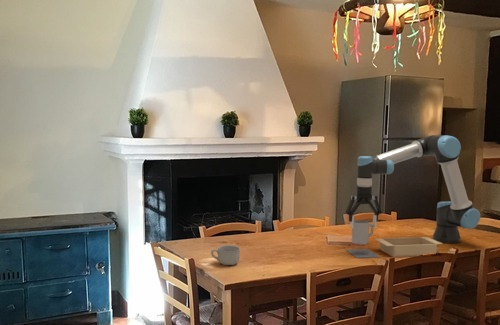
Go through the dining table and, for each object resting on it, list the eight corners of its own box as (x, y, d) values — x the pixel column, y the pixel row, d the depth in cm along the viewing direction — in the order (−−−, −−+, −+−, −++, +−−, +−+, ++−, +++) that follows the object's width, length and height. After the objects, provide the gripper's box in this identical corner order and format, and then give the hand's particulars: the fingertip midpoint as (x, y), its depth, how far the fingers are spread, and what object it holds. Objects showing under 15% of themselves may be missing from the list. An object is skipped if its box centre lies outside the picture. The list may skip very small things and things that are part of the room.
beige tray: (426, 247, 263) (426, 236, 262) (443, 255, 246) (443, 243, 246) (373, 249, 257) (373, 238, 257) (387, 257, 241) (387, 246, 241)
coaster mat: (367, 249, 256) (367, 248, 256) (379, 257, 242) (379, 256, 242) (346, 250, 254) (346, 249, 254) (357, 258, 240) (357, 257, 240)
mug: (357, 245, 242) (358, 223, 241) (348, 241, 249) (349, 220, 249) (377, 243, 246) (378, 222, 245) (367, 239, 254) (368, 219, 253)
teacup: (240, 260, 234) (240, 244, 233) (240, 267, 223) (240, 250, 222) (211, 260, 233) (211, 244, 233) (210, 267, 222) (210, 250, 222)
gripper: (382, 184, 251) (381, 225, 253) (339, 185, 247) (338, 226, 249) (389, 186, 244) (388, 228, 245) (344, 187, 240) (343, 229, 241)
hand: (363, 227), depth 247 cm, fingers closed on mug, 12 cm apart
